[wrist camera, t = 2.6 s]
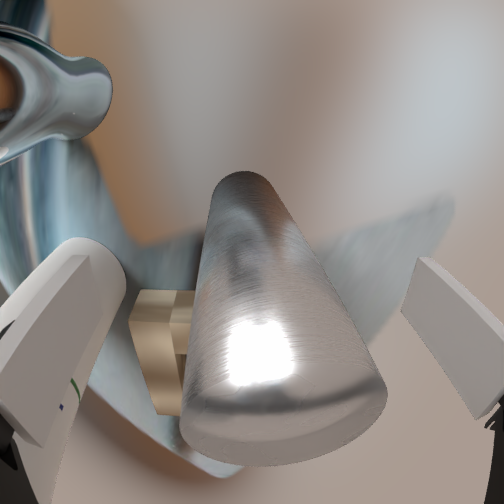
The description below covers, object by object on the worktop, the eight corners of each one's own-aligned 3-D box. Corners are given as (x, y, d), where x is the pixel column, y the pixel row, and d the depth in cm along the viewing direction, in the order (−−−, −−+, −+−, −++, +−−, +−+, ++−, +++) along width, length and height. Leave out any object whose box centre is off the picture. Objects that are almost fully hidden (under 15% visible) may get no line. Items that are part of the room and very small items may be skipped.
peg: (211, 170, 18) (161, 364, 4) (278, 172, 19) (419, 347, 4) (211, 232, 20) (192, 467, 6) (274, 233, 21) (352, 453, 6)
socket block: (140, 289, 22) (127, 320, 18) (291, 290, 23) (302, 322, 19) (162, 383, 27) (157, 414, 23) (276, 384, 28) (282, 415, 24)
